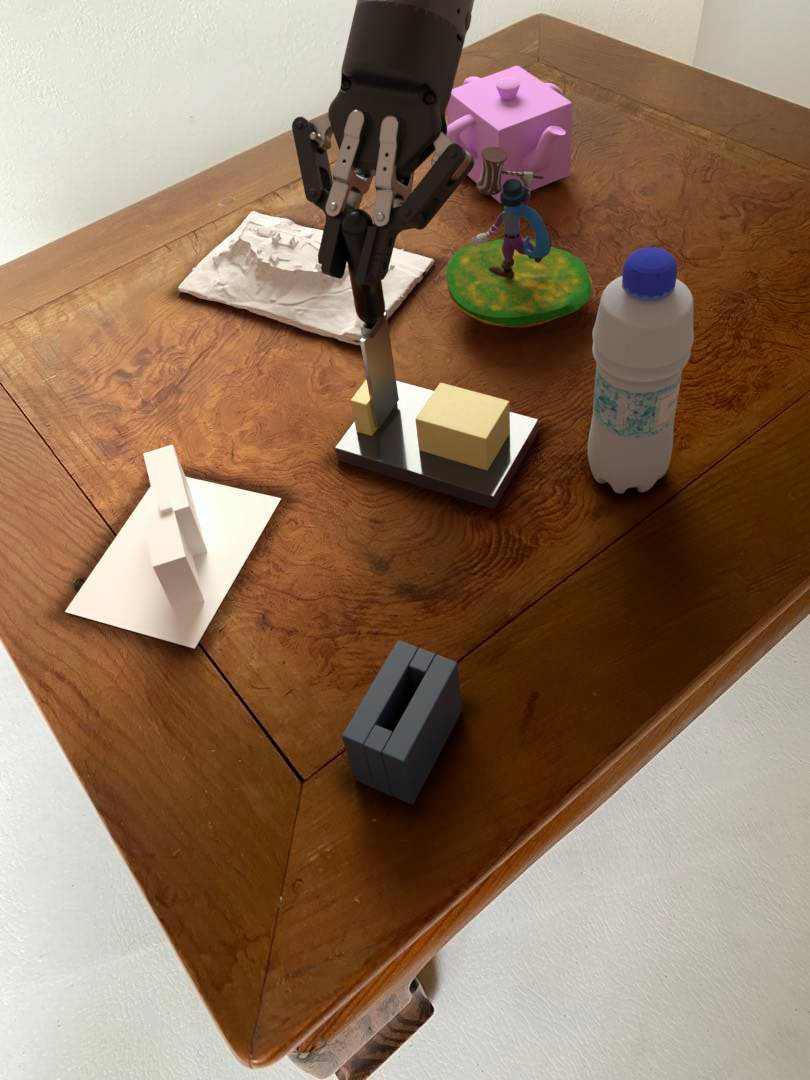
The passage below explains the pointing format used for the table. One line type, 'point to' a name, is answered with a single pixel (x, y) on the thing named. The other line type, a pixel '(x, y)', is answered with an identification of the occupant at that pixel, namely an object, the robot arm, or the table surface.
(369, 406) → the butter pat
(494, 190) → the figurine
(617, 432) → the bottle
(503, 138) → the teapot
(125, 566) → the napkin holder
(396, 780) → the knife stand
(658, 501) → the table surface
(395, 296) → the terrain model
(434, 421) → the butter block
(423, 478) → the board
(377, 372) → the knife
